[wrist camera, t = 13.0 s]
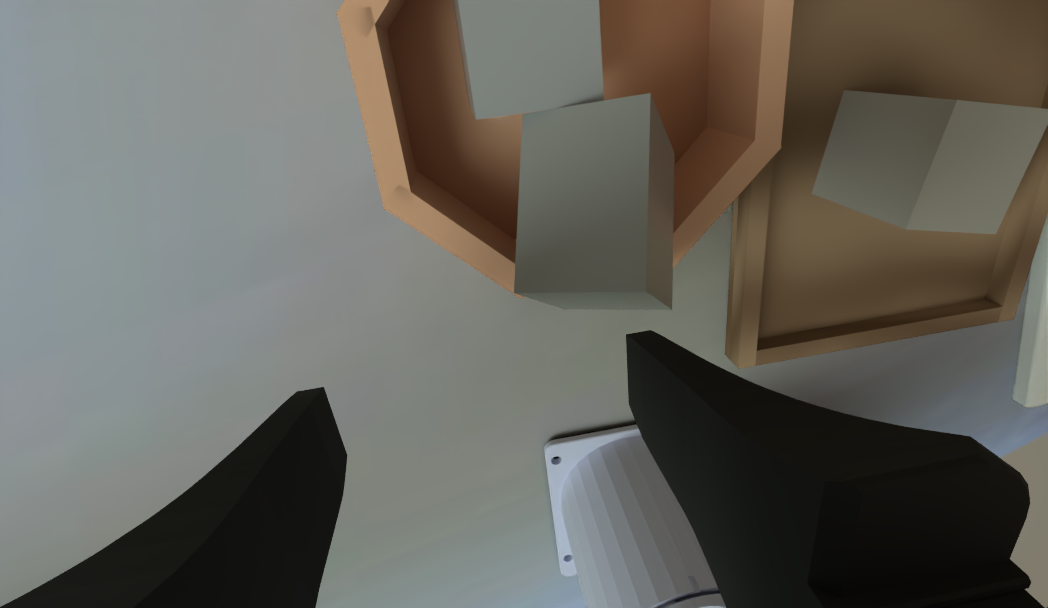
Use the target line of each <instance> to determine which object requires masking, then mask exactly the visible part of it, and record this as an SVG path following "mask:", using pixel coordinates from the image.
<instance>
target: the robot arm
mask: <svg viewBox="0 0 1048 608" xmlns="http://www.w3.org/2000/svg"><path fill="white" fill-rule="evenodd" d="M626 344H627V369H628V394H629V405H630V408H631V411H632V413H633V416H634V418H635V421H636V424H637V425H631V426H626V427H620V428H615V429H610V430H604V431H599V432H594V433H588V434H583V435H577V436H572V437H567V438H561V439H556V440H552V441H549V442H548V443H547V444H546V445H545V447H544V453H545V460H546V468H547V475H548V483H549V490H550V498H551V505H552V513H553V520H554V528H555V536H556V543H557V551H558V558H559V566H560V571H561V573H562V574H563V575H564V576H573V575H578V579H579V583H580V587H581V591H582V595H583V599H584V603H585V607H586V608H1044V607H1043V606H1042V605H1041V604H1040V603H1039V602H1038V601H1037V600H1035V599H1034V598H1033V597H1032V596H1031V595H1030V594H1029V593H1028V592H1027V591H1026V590H1025V589H1026V588H1029V586H1030V584H1031V581H1030V579H1029V576H1028V575H1027V574H1026V573H1025V572H1023V571H1022V570H1021V569H1020V568H1019V567H1018V566H1017V565H1016V564H1014V563H1013V562H1012V561H1011V560H1010V556H1011V554H1012V551H1013V549H1014V546H1015V544H1016V542H1017V539H1018V537H1019V534H1020V531H1021V529H1022V527H1023V525H1024V522H1025V520H1026V517H1027V512H1028V509H1029V505H1030V497H1029V489H1028V484H1027V482H1026V481H1025V479H1024V478H1023V476H1022V475H1021V474H1020V472H1018V471H1017V470H1015V469H1014V468H1013V467H1011V466H1010V465H1009V464H1007V463H1006V462H1004V461H1003V460H1002V459H1000V458H999V457H998V456H996V455H995V454H994V453H992V452H991V451H989V450H988V449H987V448H985V447H984V446H983V445H981V444H980V443H979V442H977V441H976V440H974V439H973V438H972V437H970V436H963V435H956V434H950V433H943V432H936V431H929V430H923V429H916V428H909V427H904V426H898V425H893V424H889V423H884V422H879V421H874V420H869V419H865V418H861V417H856V416H852V415H848V414H844V413H840V412H837V411H833V410H830V409H826V408H823V407H819V406H816V405H812V404H809V403H806V402H803V401H800V400H797V399H794V398H791V397H788V396H785V395H783V394H780V393H777V392H775V391H772V390H769V389H767V388H764V387H762V386H759V385H757V384H754V383H752V382H750V381H748V380H745V379H743V378H741V377H739V376H737V375H735V374H732V373H730V372H728V371H726V370H724V369H722V368H720V367H718V366H716V365H714V364H712V363H710V362H708V361H706V360H705V359H703V358H701V357H699V356H697V355H695V354H693V353H692V352H690V351H688V350H686V349H684V348H683V347H681V346H679V345H677V344H676V343H674V342H672V341H670V340H668V339H667V338H665V337H663V336H661V335H659V334H657V333H655V332H653V331H651V330H649V331H644V332H638V333H632V334H626ZM556 456H559V458H557V459H552V458H553V457H556ZM346 463H347V453H346V450H345V448H344V445H343V442H342V439H341V436H340V433H339V430H338V427H337V424H336V421H335V419H334V416H333V413H332V410H331V407H330V404H329V401H328V398H327V395H326V392H325V390H324V387H321V388H315V389H310V390H304V391H298V392H296V393H295V394H294V395H292V396H291V397H290V398H289V399H288V400H287V401H285V402H284V403H283V404H282V405H281V406H280V407H279V408H278V409H277V410H276V411H275V412H274V413H273V414H272V415H271V416H270V417H269V418H268V419H266V420H265V421H264V422H263V423H262V424H261V425H260V426H259V427H258V428H257V429H256V430H255V431H254V432H253V433H252V434H251V435H250V436H249V437H248V438H246V439H245V440H244V441H243V442H242V443H241V444H240V445H239V446H238V447H237V448H236V449H235V450H234V451H232V452H231V453H230V454H229V455H228V456H227V457H226V458H224V459H223V460H222V461H221V462H220V463H219V464H218V465H216V466H215V467H214V468H213V469H212V470H211V471H209V472H208V473H207V474H206V475H205V476H204V477H203V478H201V479H200V480H199V481H198V482H197V483H195V484H194V485H193V486H192V487H190V488H189V489H188V490H187V491H185V492H184V493H183V494H182V495H180V496H179V497H178V498H176V499H175V500H174V501H172V502H171V503H170V504H168V505H167V506H166V507H164V508H163V509H161V510H160V511H159V512H157V513H156V514H155V515H153V516H152V517H150V518H149V519H148V520H146V521H145V522H143V523H142V524H140V525H139V526H137V527H136V528H134V529H133V530H131V531H129V532H128V533H126V534H125V535H123V536H122V537H120V538H119V539H117V540H116V541H114V542H113V543H111V544H110V545H108V546H107V547H105V548H104V549H102V550H101V551H99V552H97V553H96V554H94V555H93V556H91V557H89V558H88V559H86V560H84V561H83V562H81V563H79V564H78V565H76V566H74V567H72V568H71V569H69V570H67V571H66V572H64V573H62V574H60V575H59V576H57V577H55V578H53V579H52V580H50V581H48V582H46V583H44V584H43V585H41V586H39V587H37V588H36V589H34V590H32V591H30V592H28V593H26V594H24V595H23V596H21V597H19V598H17V599H15V600H13V601H11V602H9V603H7V604H5V605H3V606H1V607H0V608H315V607H316V602H317V597H318V592H319V588H320V583H321V580H322V576H323V572H324V568H325V564H326V560H327V556H328V552H329V549H330V545H331V541H332V537H333V533H334V529H335V525H336V521H337V517H338V513H339V509H340V505H341V501H342V497H343V491H344V482H345V473H346ZM1047 608H1048V607H1047Z"/></svg>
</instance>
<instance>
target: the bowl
mask: <svg viewBox="0 0 1048 608" xmlns="http://www.w3.org/2000/svg"><path fill="white" fill-rule="evenodd" d="M793 6H794V0H599V12H600V33H601V53H602V73H603V94H604V101H605V100H611V99H617V98H623V97H629V96H635V95H641V94H648V93H651V95H652V98H653V100H654V103H655V105H656V108H657V110H658V113H659V115H660V118H661V120H662V123H663V125H664V128H665V130H666V133H667V135H668V138H669V140H670V143H671V145H672V148H673V150H674V153H675V159H674V219H673V268H674V267H675V266H676V265H677V263H678V262H679V261H680V260H681V259H682V258H683V257H684V256H685V254H686V253H687V252H688V251H689V250H690V249H691V248H692V247H693V246H694V244H695V243H696V242H697V241H698V240H699V239H700V238H701V237H702V236H703V234H704V233H705V232H706V231H707V230H708V229H709V228H710V227H711V225H712V224H713V223H714V222H715V221H716V220H717V219H718V218H719V217H720V215H721V214H722V213H723V212H724V211H725V210H726V209H727V208H728V206H729V205H730V204H731V203H732V202H733V201H734V200H735V199H736V198H737V196H738V195H739V194H740V193H741V192H742V191H743V190H744V189H745V188H746V186H747V185H748V184H749V183H750V182H751V181H752V180H753V179H754V177H755V176H756V175H757V174H758V173H759V172H760V171H761V170H762V169H763V167H764V166H765V165H766V164H767V163H768V162H769V161H770V160H771V158H772V157H773V156H774V155H775V154H776V153H777V152H778V151H779V150H781V138H782V127H783V116H784V105H785V94H786V83H787V72H788V61H789V50H790V39H791V28H792V17H793ZM336 15H337V16H338V19H339V23H340V27H341V31H342V36H343V40H344V44H345V48H346V52H347V56H348V60H349V65H350V69H351V73H352V77H353V81H354V85H355V89H356V94H357V98H358V102H359V106H360V110H361V114H362V119H363V123H364V127H365V131H366V135H367V139H368V143H369V148H370V152H371V156H372V160H373V164H374V168H375V172H376V177H377V181H378V185H379V189H380V193H381V197H382V201H383V208H384V210H387V211H389V212H390V213H392V214H393V215H395V216H396V217H398V218H399V219H401V220H402V221H404V222H405V223H407V224H408V225H410V226H411V227H413V228H414V229H416V230H417V231H419V232H420V233H422V234H423V235H425V236H426V237H428V238H429V239H431V240H432V241H434V242H435V243H437V244H438V245H440V246H441V247H443V248H445V249H446V250H448V251H449V252H451V253H452V254H454V255H455V256H457V257H458V258H460V259H461V260H463V261H464V262H466V263H467V264H469V265H470V266H472V267H473V268H475V269H476V270H478V271H479V272H481V273H482V274H484V275H485V276H487V277H488V278H490V279H491V280H493V281H494V282H496V283H497V284H499V285H500V286H502V287H503V288H505V289H506V290H508V291H509V292H511V293H513V294H514V295H516V296H517V297H518V298H520V299H521V298H522V297H525V296H521V295H518V294H515V293H514V280H515V260H516V239H517V219H518V199H519V178H520V158H521V138H522V117H523V114H525V113H520V114H513V115H506V116H499V117H492V118H485V119H478V120H476V119H475V117H474V115H473V112H472V110H471V108H470V106H469V103H468V97H467V90H466V84H465V77H464V71H463V64H462V58H461V51H460V45H459V38H458V32H457V26H456V19H455V13H454V6H453V0H344V2H343V4H342V5H341V7H340V9H339V10H338V11H337V14H336ZM542 111H543V110H542ZM534 112H537V111H534ZM527 113H531V112H527Z"/></svg>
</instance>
